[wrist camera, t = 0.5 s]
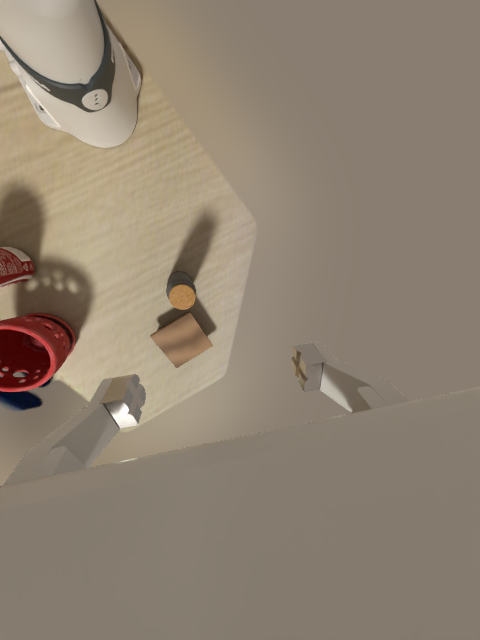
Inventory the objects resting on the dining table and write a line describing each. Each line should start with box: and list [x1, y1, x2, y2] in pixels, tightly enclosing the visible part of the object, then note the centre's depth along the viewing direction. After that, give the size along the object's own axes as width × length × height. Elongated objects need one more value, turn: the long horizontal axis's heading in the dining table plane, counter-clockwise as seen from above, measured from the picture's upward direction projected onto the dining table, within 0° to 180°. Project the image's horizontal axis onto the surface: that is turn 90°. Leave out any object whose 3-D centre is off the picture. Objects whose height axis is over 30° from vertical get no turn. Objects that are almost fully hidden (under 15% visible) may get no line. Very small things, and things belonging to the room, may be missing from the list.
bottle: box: [166, 272, 196, 310], centre depth 44 cm, size 6×6×15 cm
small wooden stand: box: [150, 312, 213, 368], centre depth 54 cm, size 11×11×4 cm
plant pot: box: [0, 313, 76, 392], centre depth 41 cm, size 13×13×12 cm
